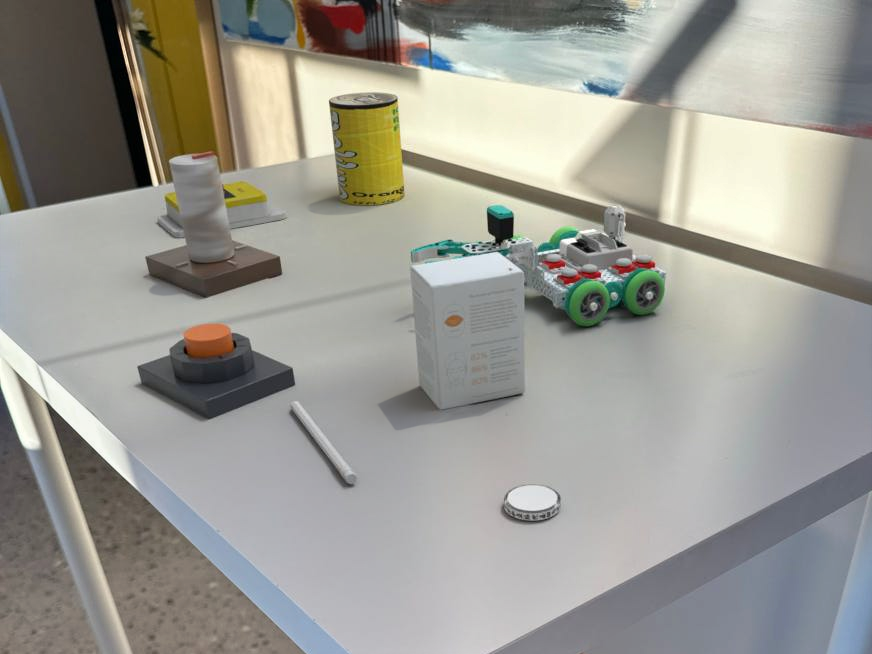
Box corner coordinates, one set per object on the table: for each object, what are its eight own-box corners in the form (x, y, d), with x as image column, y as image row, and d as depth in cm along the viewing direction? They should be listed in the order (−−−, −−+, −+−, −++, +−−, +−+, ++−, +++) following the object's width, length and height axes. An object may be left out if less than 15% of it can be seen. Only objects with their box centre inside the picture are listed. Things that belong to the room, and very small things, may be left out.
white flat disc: (550, 524, 66) (550, 516, 66) (495, 514, 68) (495, 506, 67) (567, 496, 69) (568, 488, 69) (515, 487, 71) (515, 479, 70)
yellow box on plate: (148, 185, 125) (258, 168, 130) (156, 221, 128) (264, 202, 133) (168, 201, 118) (283, 182, 124) (176, 238, 121) (288, 218, 127)
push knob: (178, 352, 84) (174, 332, 83) (217, 338, 87) (213, 319, 86) (204, 364, 82) (199, 344, 81) (243, 350, 84) (239, 330, 83)
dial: (205, 266, 106) (184, 164, 100) (180, 256, 109) (159, 157, 102) (243, 254, 109) (225, 154, 102) (218, 246, 112) (199, 148, 105)
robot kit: (394, 294, 103) (386, 201, 98) (598, 257, 111) (603, 169, 105) (463, 355, 90) (458, 252, 84) (690, 309, 98) (700, 211, 92)
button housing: (141, 383, 87) (131, 346, 85) (225, 353, 92) (218, 317, 90) (209, 420, 81) (200, 380, 79) (295, 385, 86) (289, 347, 84)
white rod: (298, 398, 82) (359, 475, 71) (294, 407, 82) (354, 485, 72) (289, 395, 81) (348, 472, 71) (285, 404, 82) (343, 482, 71)
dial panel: (149, 274, 111) (144, 255, 109) (222, 253, 116) (219, 234, 115) (207, 298, 104) (203, 277, 103) (282, 274, 110) (279, 254, 108)
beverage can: (380, 184, 139) (372, 89, 132) (417, 196, 134) (411, 98, 126) (327, 196, 135) (315, 99, 127) (363, 209, 129) (353, 108, 122)
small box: (501, 370, 87) (499, 250, 81) (526, 394, 83) (526, 269, 76) (417, 386, 85) (408, 263, 78) (438, 412, 81) (430, 285, 74)
